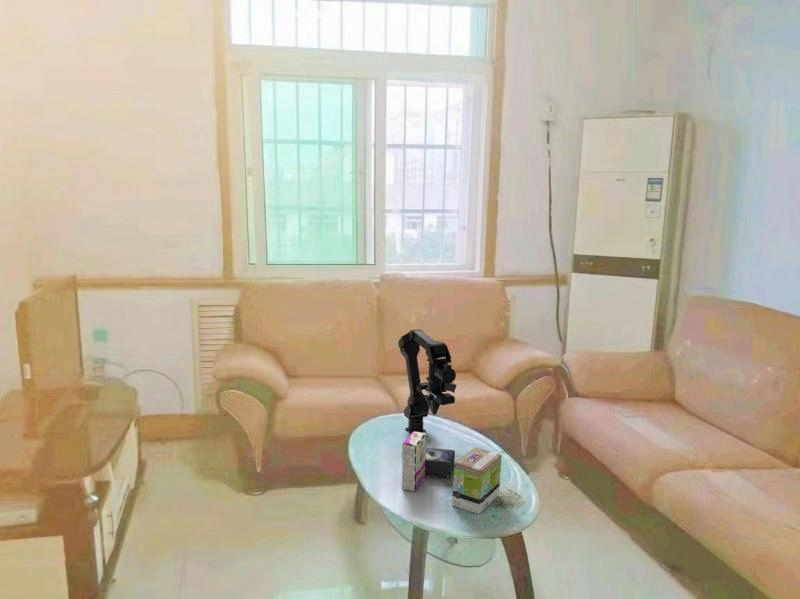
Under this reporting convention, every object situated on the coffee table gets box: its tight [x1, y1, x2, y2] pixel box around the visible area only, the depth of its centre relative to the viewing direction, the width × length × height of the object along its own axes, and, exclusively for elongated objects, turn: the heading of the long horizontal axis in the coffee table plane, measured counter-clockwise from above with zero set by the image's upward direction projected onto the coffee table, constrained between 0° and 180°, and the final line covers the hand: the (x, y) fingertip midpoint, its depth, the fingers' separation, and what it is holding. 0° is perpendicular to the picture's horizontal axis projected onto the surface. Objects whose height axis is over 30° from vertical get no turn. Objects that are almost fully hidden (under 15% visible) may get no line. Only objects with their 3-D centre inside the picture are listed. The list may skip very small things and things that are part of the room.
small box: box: [425, 447, 456, 479], centre depth 217 cm, size 11×6×10 cm
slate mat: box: [437, 466, 455, 487], centre depth 216 cm, size 12×16×1 cm
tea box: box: [451, 446, 503, 515], centre depth 197 cm, size 15×10×15 cm, turn 148°
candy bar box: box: [401, 431, 427, 493], centre depth 207 cm, size 11×5×16 cm, turn 160°
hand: (434, 414), depth 237 cm, fingers closed
